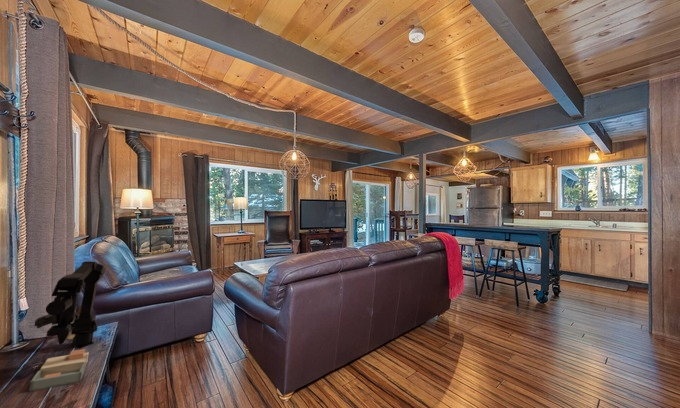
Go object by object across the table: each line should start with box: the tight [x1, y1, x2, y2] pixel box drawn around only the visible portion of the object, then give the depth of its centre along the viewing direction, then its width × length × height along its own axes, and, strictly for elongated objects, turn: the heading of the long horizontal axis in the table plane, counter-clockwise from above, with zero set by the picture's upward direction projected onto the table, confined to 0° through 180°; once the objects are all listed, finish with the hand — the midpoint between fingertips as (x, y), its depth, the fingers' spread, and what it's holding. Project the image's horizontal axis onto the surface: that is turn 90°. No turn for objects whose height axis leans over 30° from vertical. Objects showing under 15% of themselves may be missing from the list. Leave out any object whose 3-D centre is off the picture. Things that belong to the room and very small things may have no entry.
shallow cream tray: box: [39, 351, 90, 378], centre depth 113 cm, size 9×13×4 cm
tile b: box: [44, 372, 61, 378], centre depth 104 cm, size 4×4×2 cm
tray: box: [28, 363, 87, 393], centre depth 106 cm, size 8×14×4 cm, turn 125°
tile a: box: [68, 348, 86, 360], centre depth 116 cm, size 4×4×2 cm
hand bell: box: [65, 306, 81, 341], centre depth 142 cm, size 8×8×16 cm
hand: (61, 343), depth 112 cm, fingers closed
